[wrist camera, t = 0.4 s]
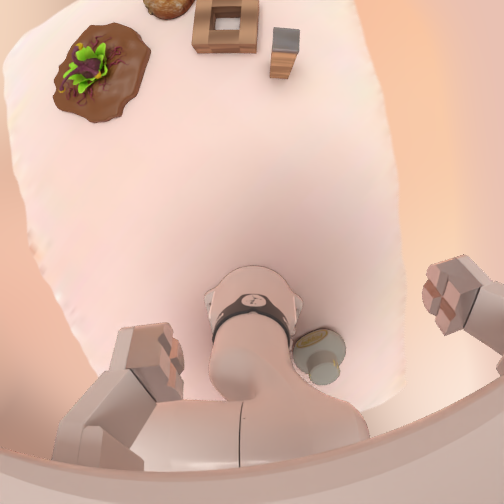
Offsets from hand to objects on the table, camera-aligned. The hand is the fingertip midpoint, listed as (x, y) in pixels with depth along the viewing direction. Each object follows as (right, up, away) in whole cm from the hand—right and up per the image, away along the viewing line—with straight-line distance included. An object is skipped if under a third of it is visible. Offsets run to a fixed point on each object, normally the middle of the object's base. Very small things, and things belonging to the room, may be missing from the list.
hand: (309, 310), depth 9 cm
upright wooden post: (+3, +32, +35) cm, 48 cm away
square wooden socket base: (-6, +40, +33) cm, 52 cm away
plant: (-30, +36, +36) cm, 59 cm away
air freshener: (+12, -18, +53) cm, 57 cm away
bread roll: (-16, +48, +31) cm, 60 cm away
